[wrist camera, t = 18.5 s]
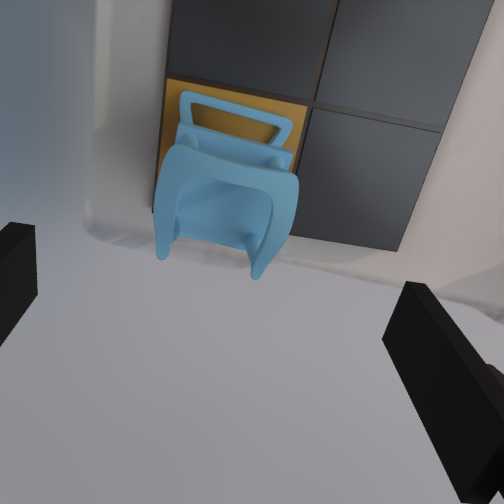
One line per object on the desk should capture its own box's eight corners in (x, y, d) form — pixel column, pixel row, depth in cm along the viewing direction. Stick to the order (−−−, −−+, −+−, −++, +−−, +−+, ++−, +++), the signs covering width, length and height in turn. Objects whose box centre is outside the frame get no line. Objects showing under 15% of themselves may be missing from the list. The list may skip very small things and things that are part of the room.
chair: (161, 201, 32) (127, 286, 21) (182, 87, 28) (154, 120, 18) (260, 224, 33) (274, 315, 23) (292, 117, 30) (327, 166, 19)
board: (184, -111, 25) (182, -117, 24) (498, -31, 27) (509, -33, 26) (153, 208, 34) (151, 214, 33) (393, 246, 36) (398, 253, 35)
